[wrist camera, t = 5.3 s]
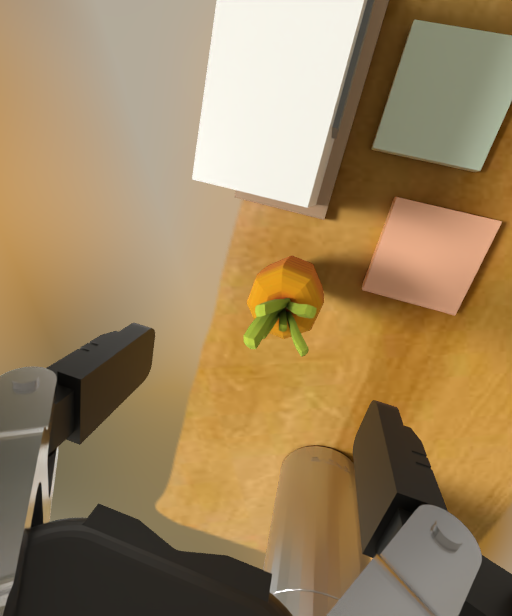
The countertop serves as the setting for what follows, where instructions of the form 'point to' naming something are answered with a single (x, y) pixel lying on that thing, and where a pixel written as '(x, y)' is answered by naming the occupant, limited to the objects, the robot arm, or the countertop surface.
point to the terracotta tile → (428, 254)
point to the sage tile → (447, 96)
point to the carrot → (284, 302)
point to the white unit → (284, 97)
